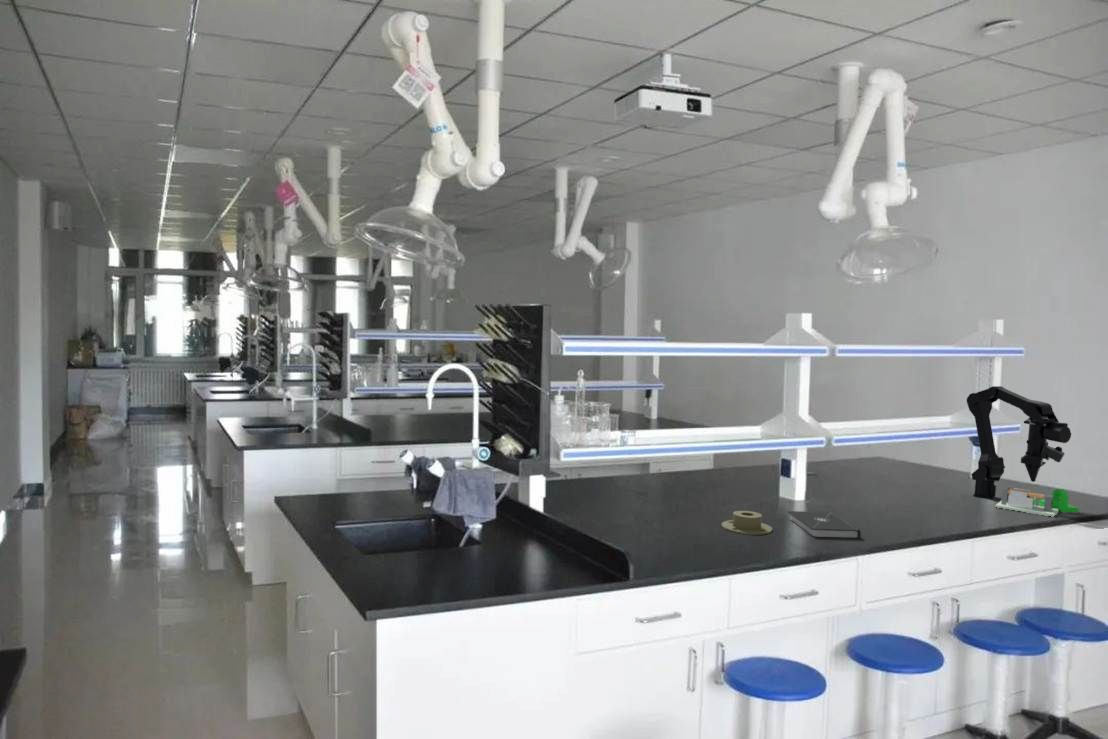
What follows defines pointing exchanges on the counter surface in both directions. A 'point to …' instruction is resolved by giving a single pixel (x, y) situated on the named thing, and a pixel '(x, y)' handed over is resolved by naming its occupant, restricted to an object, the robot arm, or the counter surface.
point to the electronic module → (1024, 499)
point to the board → (1035, 510)
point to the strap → (1032, 494)
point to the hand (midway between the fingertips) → (1033, 481)
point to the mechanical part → (1060, 501)
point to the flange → (747, 523)
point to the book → (824, 524)
